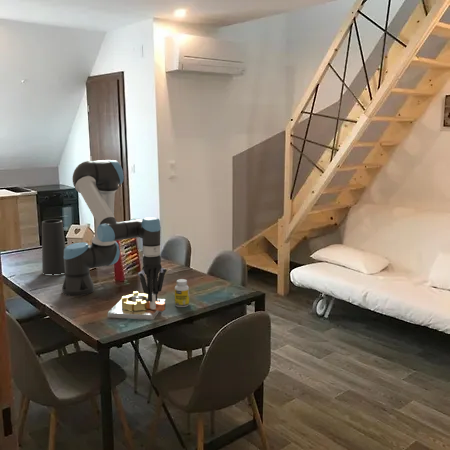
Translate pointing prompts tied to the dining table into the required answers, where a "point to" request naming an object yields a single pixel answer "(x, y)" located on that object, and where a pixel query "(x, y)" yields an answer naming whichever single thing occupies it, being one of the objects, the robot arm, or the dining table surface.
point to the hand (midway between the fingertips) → (152, 308)
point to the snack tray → (139, 303)
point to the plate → (140, 314)
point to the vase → (53, 247)
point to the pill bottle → (181, 293)
